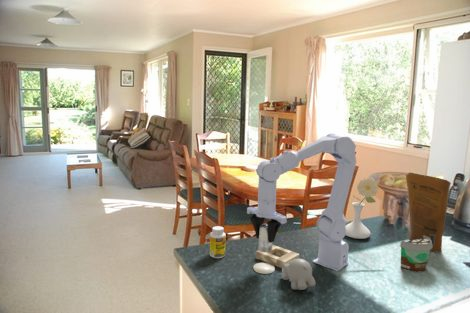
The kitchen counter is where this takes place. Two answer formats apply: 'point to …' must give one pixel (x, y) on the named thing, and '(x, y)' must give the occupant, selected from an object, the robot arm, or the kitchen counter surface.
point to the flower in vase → (356, 227)
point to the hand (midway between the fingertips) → (265, 239)
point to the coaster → (264, 268)
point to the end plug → (264, 239)
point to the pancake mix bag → (427, 207)
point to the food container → (415, 254)
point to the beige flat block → (270, 257)
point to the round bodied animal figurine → (298, 274)
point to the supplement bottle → (217, 242)
